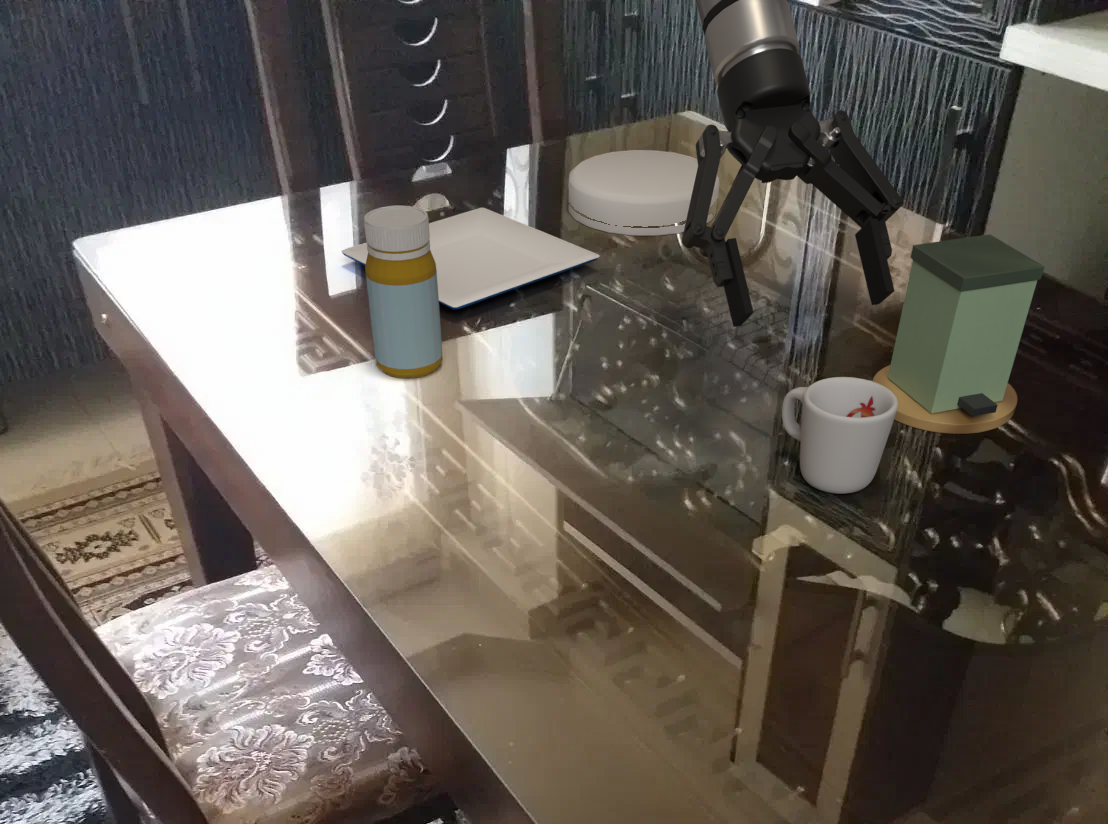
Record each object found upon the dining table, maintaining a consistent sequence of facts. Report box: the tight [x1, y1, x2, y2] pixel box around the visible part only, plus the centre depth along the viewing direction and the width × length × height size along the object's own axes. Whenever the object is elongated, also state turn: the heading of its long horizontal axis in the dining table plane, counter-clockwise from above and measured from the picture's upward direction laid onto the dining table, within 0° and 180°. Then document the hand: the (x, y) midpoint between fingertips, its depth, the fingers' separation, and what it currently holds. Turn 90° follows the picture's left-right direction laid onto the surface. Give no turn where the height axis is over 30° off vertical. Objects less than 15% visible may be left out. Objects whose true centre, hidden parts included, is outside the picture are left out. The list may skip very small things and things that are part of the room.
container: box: [567, 149, 720, 237], centre depth 152 cm, size 20×20×5 cm
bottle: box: [363, 205, 443, 380], centre depth 115 cm, size 7×7×15 cm
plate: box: [341, 207, 601, 310], centre depth 138 cm, size 22×22×2 cm
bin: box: [888, 234, 1045, 416], centre depth 108 cm, size 11×8×13 cm
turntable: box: [871, 364, 1018, 435], centre depth 114 cm, size 14×14×1 cm
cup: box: [781, 376, 898, 495], centre depth 101 cm, size 11×8×8 cm
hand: (814, 309), depth 100 cm, fingers open, 13 cm apart
